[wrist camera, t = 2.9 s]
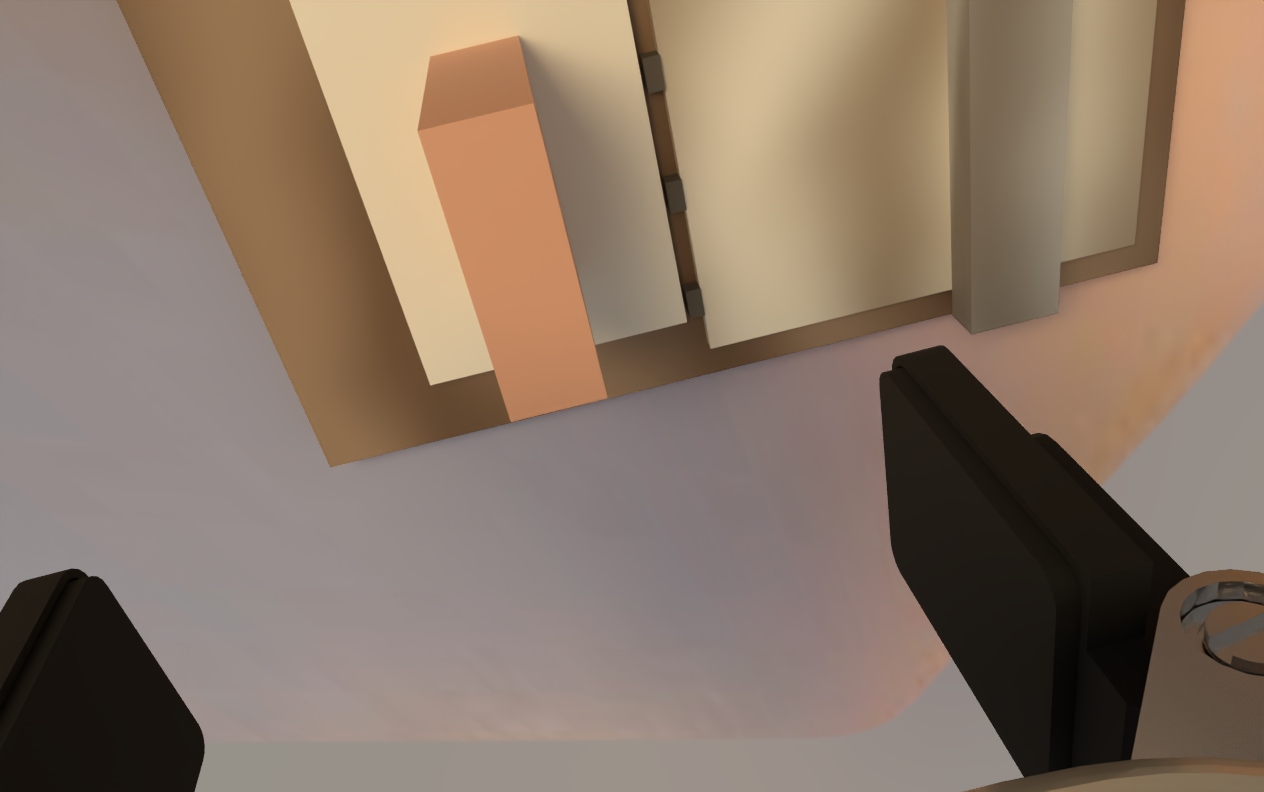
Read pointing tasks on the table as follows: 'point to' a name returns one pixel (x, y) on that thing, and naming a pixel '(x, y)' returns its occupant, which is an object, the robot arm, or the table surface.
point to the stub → (504, 181)
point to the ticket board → (717, 183)
